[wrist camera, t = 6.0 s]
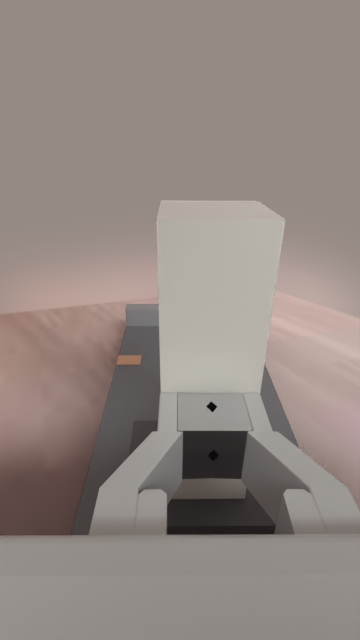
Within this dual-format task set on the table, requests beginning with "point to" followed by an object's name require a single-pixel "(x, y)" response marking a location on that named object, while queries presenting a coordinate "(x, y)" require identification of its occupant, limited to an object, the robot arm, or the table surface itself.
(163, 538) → the robot arm
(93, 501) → the track board
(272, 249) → the fader
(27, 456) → the table surface
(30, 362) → the table surface
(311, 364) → the table surface
